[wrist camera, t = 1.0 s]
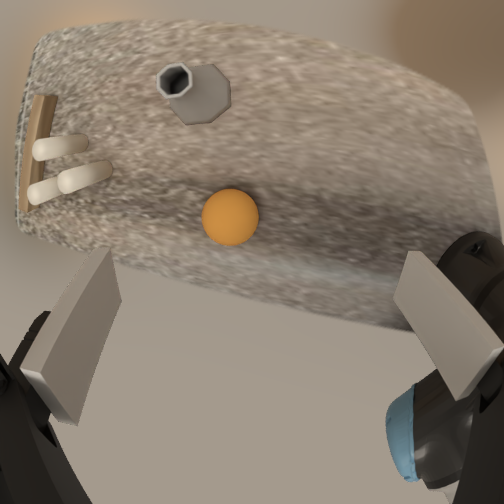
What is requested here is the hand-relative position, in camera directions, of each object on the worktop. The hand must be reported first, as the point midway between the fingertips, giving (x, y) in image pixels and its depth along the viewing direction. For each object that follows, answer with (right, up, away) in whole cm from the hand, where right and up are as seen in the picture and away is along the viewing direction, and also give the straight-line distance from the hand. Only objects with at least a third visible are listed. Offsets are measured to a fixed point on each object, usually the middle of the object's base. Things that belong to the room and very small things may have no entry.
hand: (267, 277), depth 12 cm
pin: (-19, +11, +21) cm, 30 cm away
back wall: (-30, +15, +19) cm, 39 cm away
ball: (-3, +5, +19) cm, 20 cm away
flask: (-6, +19, +17) cm, 26 cm away
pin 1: (-22, +15, +19) cm, 33 cm away
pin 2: (-24, +11, +21) cm, 34 cm away
